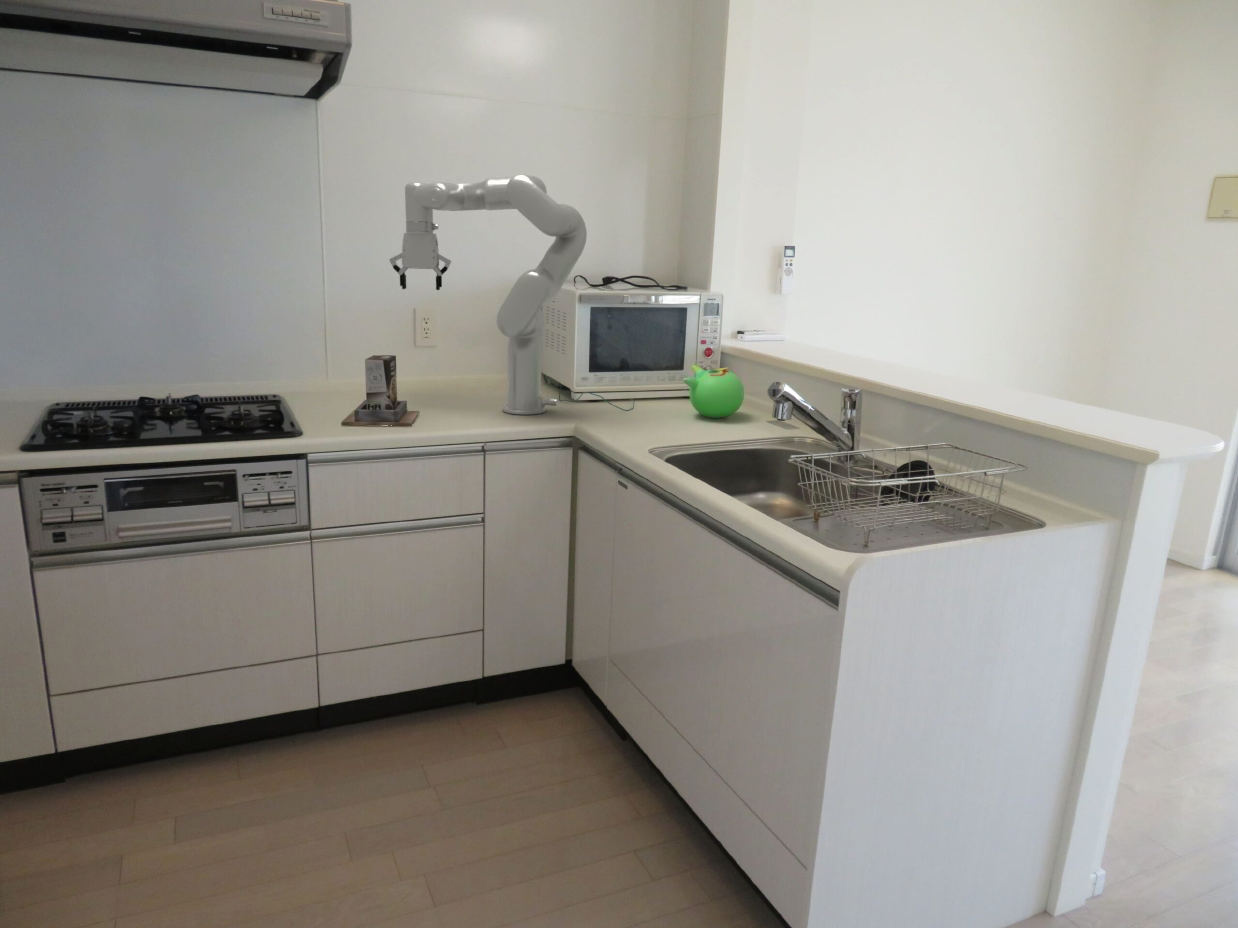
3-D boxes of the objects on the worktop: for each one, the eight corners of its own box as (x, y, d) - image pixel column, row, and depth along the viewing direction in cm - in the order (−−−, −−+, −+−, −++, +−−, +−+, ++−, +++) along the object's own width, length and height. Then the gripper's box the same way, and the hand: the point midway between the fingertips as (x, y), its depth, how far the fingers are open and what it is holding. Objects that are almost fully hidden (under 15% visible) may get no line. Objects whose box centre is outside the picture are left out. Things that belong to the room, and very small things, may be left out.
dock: (419, 414, 252) (419, 400, 251) (411, 426, 237) (410, 411, 236) (354, 413, 251) (353, 399, 250) (341, 425, 235) (340, 410, 234)
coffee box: (390, 420, 239) (388, 359, 235) (366, 419, 239) (363, 359, 235) (398, 413, 248) (396, 354, 244) (375, 412, 248) (373, 354, 244)
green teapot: (740, 425, 252) (743, 373, 248) (680, 420, 255) (683, 369, 251) (744, 412, 269) (747, 364, 265) (688, 408, 272) (691, 360, 268)
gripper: (451, 229, 260) (452, 289, 264) (390, 227, 259) (392, 287, 263) (449, 229, 253) (450, 291, 257) (386, 227, 251) (388, 289, 256)
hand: (421, 289), depth 260 cm, fingers open, 9 cm apart
